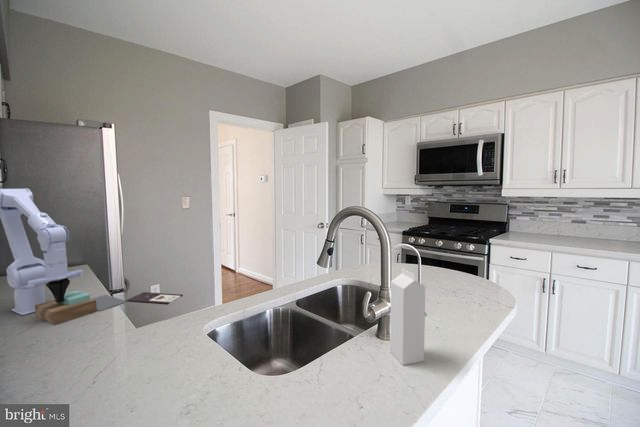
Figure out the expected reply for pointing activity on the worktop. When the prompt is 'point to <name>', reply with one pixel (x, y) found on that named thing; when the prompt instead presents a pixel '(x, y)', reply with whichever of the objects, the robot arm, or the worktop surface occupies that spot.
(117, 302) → the mat
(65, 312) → the brown flat block
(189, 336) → the worktop surface
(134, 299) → the chocolate bar
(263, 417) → the worktop surface
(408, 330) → the milk
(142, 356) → the worktop surface
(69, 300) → the teal rectangular block
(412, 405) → the worktop surface
